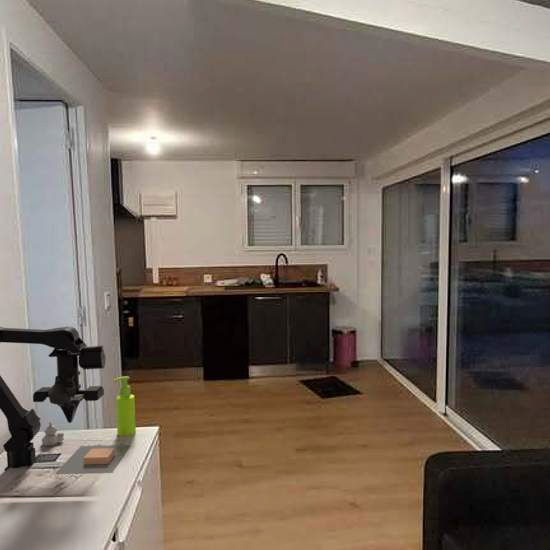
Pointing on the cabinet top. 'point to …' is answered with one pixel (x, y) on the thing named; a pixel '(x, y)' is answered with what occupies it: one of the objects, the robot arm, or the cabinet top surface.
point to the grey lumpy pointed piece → (52, 436)
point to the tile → (99, 456)
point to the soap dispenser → (125, 409)
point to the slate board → (77, 464)
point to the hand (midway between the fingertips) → (70, 422)
